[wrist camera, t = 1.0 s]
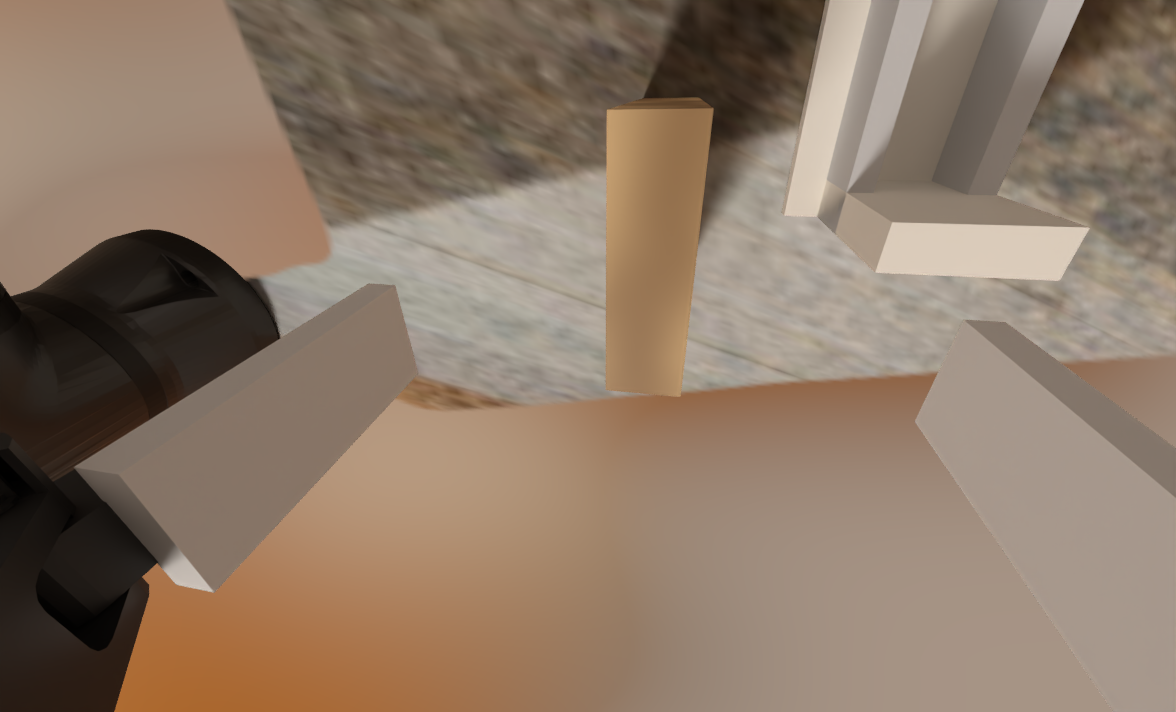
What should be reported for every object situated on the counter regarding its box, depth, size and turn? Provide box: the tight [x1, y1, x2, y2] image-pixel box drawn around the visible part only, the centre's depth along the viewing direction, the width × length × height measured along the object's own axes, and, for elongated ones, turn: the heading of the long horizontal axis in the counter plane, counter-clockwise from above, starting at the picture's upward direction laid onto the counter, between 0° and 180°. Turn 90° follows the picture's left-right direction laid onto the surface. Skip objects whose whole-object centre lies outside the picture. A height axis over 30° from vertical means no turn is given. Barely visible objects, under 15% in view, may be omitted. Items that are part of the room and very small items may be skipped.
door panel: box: [606, 97, 714, 397], centre depth 21 cm, size 3×10×14 cm, turn 1°
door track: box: [781, 0, 1090, 281], centre depth 16 cm, size 10×18×10 cm, turn 1°
